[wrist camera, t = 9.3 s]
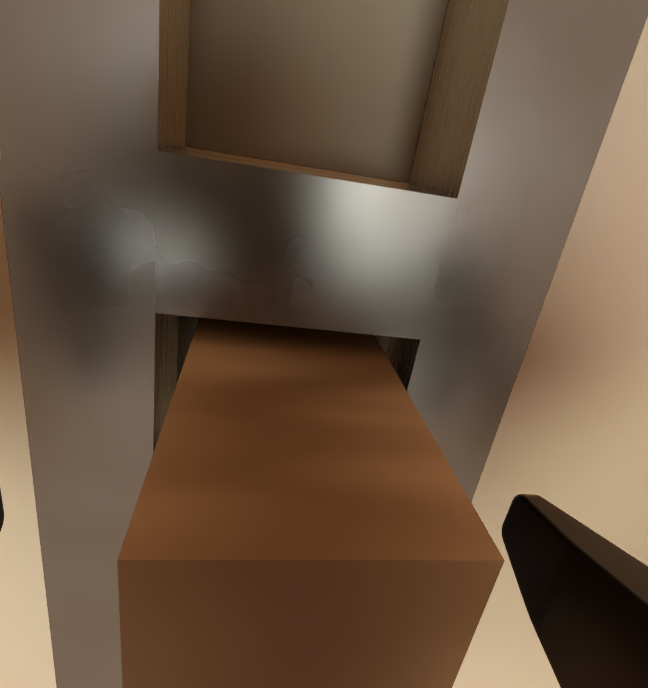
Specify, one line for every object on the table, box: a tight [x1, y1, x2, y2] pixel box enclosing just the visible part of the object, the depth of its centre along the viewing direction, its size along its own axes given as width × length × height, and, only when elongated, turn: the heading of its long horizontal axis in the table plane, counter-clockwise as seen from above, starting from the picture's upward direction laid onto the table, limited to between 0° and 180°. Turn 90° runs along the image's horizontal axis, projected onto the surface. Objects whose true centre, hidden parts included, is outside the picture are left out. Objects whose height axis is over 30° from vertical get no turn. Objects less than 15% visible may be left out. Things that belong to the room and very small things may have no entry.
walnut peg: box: [117, 317, 504, 688], centre depth 9 cm, size 4×4×8 cm
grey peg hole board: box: [0, 0, 648, 688], centre depth 11 cm, size 10×28×3 cm, turn 171°
